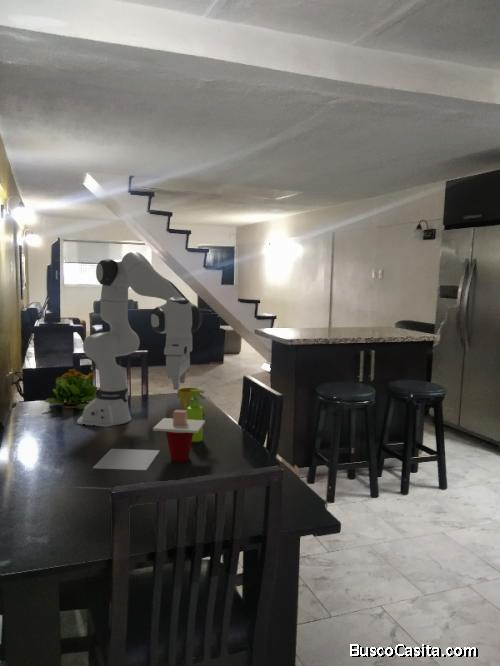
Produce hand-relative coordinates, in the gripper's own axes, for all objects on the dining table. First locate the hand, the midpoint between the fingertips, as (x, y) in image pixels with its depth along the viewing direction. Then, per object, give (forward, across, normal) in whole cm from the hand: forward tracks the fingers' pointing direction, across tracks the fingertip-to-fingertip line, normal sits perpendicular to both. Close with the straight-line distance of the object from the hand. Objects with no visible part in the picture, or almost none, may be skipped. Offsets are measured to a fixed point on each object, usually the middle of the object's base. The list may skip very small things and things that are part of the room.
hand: (179, 386), depth 171 cm
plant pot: (+27, -61, -9) cm, 67 cm away
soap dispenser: (+26, -20, +2) cm, 33 cm away
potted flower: (+27, -62, -66) cm, 94 cm away
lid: (+14, 0, 0) cm, 14 cm away
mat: (+26, +2, -18) cm, 32 cm away
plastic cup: (+26, 0, 0) cm, 26 cm away
